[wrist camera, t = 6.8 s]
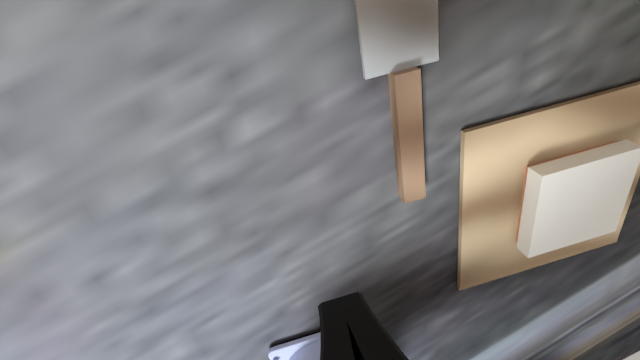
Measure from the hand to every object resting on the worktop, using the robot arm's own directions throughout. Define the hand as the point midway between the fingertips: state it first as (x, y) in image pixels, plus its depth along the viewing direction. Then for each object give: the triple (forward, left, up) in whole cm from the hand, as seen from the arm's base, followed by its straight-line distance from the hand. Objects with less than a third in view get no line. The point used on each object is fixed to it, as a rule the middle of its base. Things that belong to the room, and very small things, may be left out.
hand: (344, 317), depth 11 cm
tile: (-7, -14, -9) cm, 18 cm away
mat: (-7, -17, -10) cm, 21 cm away
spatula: (+4, -6, -10) cm, 13 cm away
